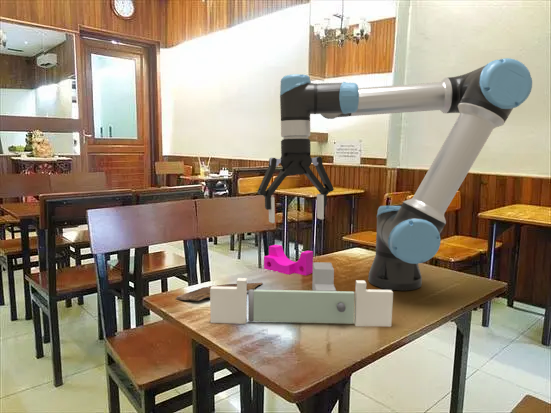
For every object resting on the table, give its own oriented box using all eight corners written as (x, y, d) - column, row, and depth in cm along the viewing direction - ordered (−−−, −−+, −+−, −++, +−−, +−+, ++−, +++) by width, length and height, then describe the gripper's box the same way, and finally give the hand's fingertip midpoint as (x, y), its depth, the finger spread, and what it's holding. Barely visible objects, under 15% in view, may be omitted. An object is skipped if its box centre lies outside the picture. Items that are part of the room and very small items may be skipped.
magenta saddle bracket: (263, 269, 137) (264, 247, 136) (275, 265, 142) (275, 244, 141) (301, 278, 128) (301, 255, 127) (312, 274, 133) (313, 251, 132)
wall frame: (389, 323, 95) (391, 281, 94) (391, 327, 93) (393, 283, 92) (211, 319, 96) (211, 277, 95) (210, 323, 94) (210, 280, 93)
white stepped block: (329, 290, 118) (330, 262, 117) (335, 305, 106) (336, 275, 105) (312, 289, 118) (312, 262, 117) (315, 305, 106) (316, 274, 105)
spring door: (352, 321, 95) (353, 291, 94) (354, 325, 92) (355, 295, 91) (248, 318, 95) (248, 289, 94) (247, 323, 93) (247, 293, 92)
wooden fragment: (183, 304, 103) (183, 300, 103) (171, 294, 113) (170, 291, 113) (273, 289, 116) (273, 285, 116) (255, 281, 126) (255, 278, 126)
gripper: (333, 138, 114) (333, 215, 117) (244, 139, 106) (246, 221, 109) (346, 137, 107) (346, 219, 109) (252, 138, 99) (254, 226, 102)
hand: (296, 220), depth 109 cm, fingers open, 13 cm apart
